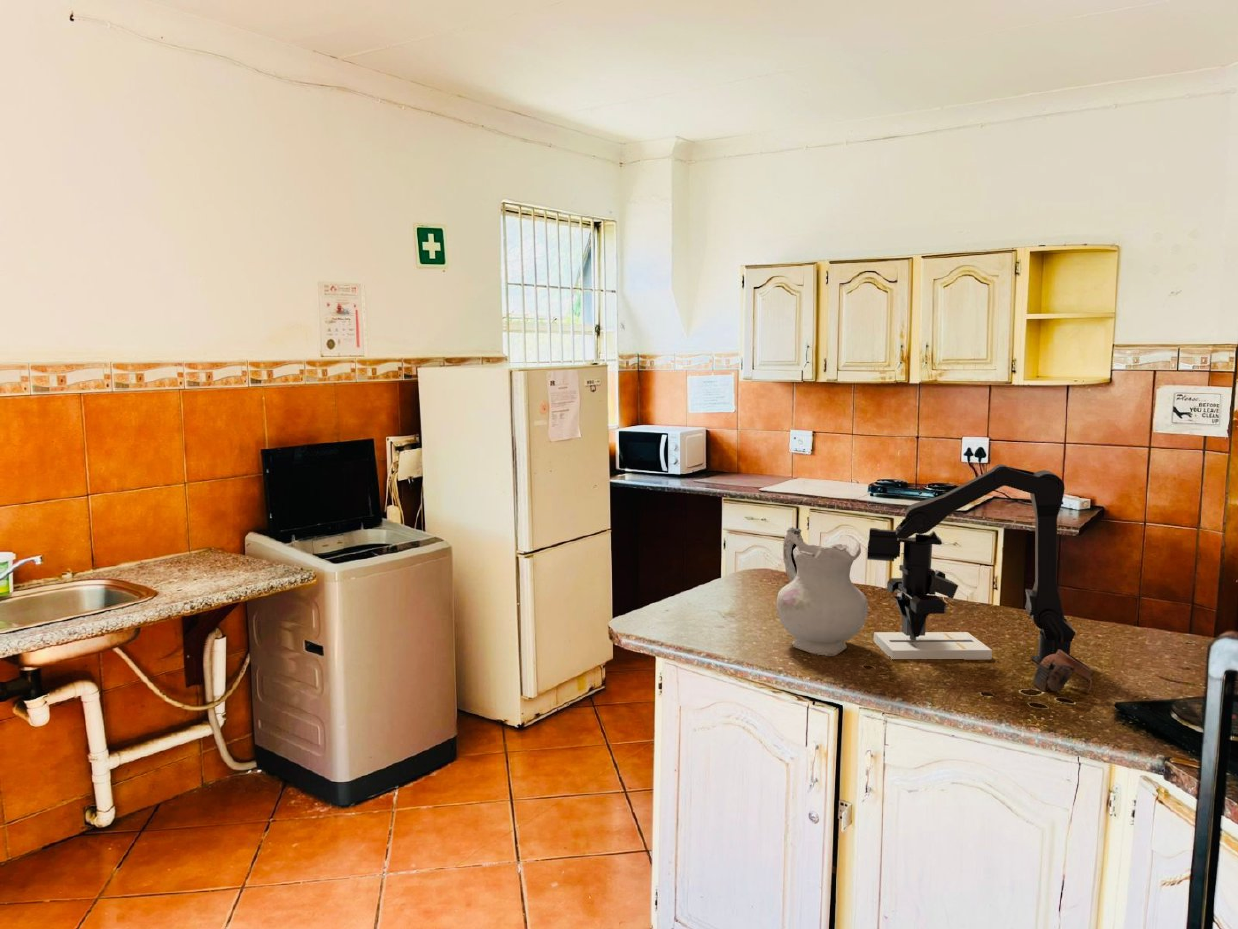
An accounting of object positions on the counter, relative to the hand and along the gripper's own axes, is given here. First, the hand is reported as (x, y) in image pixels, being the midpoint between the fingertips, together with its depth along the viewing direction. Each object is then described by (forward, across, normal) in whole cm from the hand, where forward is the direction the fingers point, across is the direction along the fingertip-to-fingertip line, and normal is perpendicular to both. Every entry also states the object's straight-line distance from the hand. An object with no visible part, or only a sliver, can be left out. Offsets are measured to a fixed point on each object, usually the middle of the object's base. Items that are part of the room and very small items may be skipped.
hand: (913, 634), depth 188 cm
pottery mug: (+4, -23, -20) cm, 31 cm away
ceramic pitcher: (+4, +4, +20) cm, 21 cm away
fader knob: (+1, 0, 0) cm, 1 cm away
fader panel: (+4, 0, -4) cm, 5 cm away
